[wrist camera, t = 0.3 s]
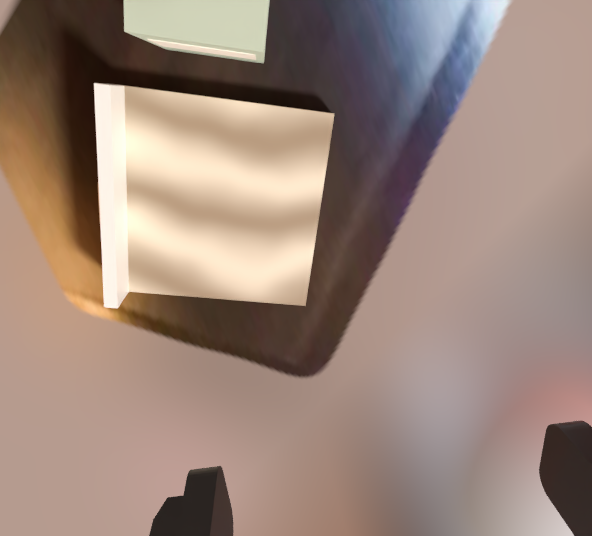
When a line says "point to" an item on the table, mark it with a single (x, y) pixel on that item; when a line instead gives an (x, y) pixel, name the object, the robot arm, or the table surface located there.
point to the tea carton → (201, 26)
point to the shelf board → (207, 195)
